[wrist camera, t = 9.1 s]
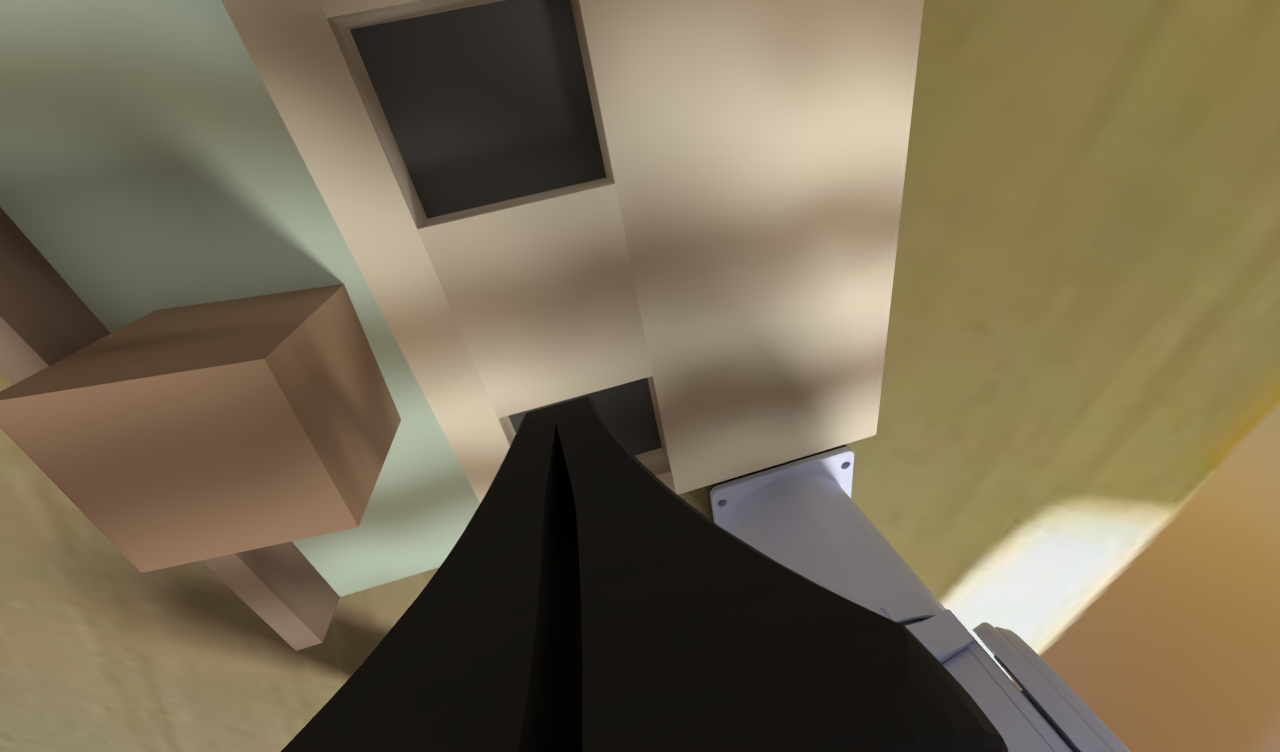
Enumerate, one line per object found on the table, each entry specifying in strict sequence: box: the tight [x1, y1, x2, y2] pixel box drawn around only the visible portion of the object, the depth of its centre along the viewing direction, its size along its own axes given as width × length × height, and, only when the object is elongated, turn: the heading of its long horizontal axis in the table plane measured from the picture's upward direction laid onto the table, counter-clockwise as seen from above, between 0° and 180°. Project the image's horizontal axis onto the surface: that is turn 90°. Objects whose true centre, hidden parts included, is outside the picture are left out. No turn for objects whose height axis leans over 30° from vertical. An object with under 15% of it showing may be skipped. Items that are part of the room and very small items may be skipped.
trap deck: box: [0, 0, 924, 651], centre depth 16 cm, size 20×26×4 cm
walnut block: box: [0, 284, 401, 573], centre depth 13 cm, size 5×5×5 cm
